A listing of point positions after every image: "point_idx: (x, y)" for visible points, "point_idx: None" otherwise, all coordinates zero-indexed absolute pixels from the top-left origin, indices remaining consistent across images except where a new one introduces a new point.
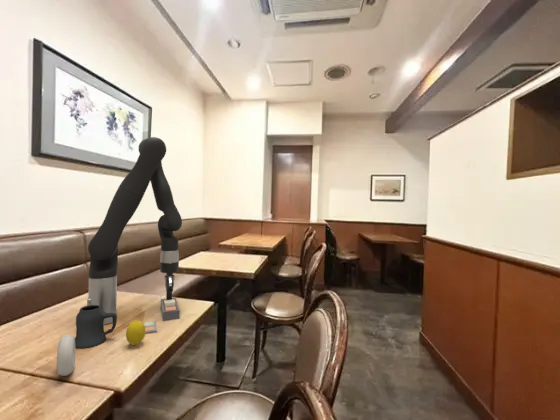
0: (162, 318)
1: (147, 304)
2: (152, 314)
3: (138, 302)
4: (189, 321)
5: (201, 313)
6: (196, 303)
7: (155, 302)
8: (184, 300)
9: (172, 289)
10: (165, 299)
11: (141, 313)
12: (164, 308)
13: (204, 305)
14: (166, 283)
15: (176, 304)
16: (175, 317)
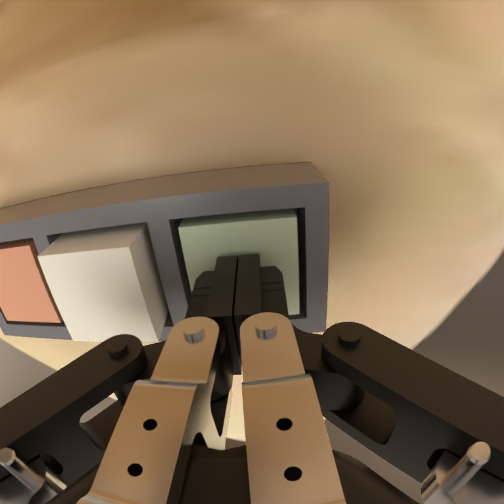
0: (12, 207)
1: (429, 53)
2: (122, 107)
3: (489, 5)
4: (14, 336)
5: (112, 397)
6: None
7: (458, 125)
8: (399, 338)
9: (100, 420)
10: (287, 239)
11: (177, 7)
12: (38, 235)
13: (241, 423)
14: (119, 458)
15: None
16: None
